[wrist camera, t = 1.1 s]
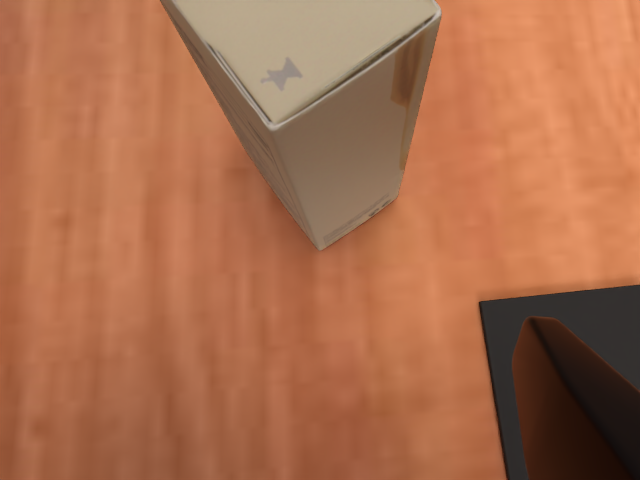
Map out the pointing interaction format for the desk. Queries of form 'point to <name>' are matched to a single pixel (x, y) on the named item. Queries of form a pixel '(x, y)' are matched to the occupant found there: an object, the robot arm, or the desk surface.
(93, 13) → the desk surface
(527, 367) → the robot arm
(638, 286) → the mat
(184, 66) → the desk surface
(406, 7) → the cosmetic box
